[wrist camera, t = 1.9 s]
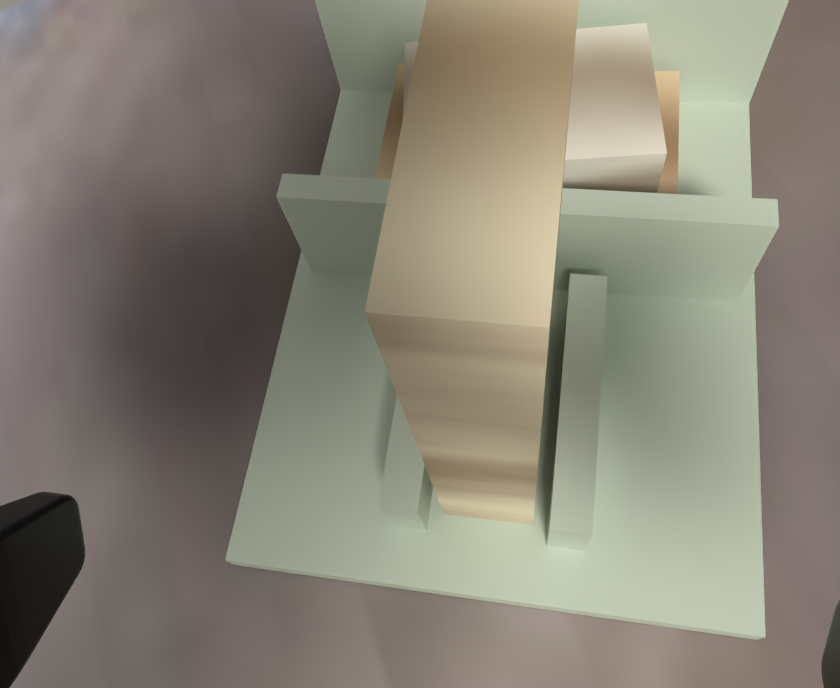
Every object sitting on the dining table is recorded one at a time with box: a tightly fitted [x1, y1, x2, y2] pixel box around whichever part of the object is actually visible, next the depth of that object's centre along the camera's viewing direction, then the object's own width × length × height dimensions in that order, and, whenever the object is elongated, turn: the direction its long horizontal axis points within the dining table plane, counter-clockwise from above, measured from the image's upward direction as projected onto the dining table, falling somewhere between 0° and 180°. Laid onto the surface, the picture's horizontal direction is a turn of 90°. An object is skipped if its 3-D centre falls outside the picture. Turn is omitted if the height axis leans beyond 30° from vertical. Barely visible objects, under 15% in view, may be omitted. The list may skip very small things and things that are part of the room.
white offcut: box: [403, 23, 667, 193], centre depth 23 cm, size 5×7×2 cm, turn 89°
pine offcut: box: [375, 64, 680, 194], centre depth 24 cm, size 6×9×2 cm, turn 81°
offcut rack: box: [225, 0, 789, 640], centre depth 21 cm, size 18×14×7 cm
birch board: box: [364, 0, 579, 525], centre depth 16 cm, size 6×2×12 cm, turn 171°
